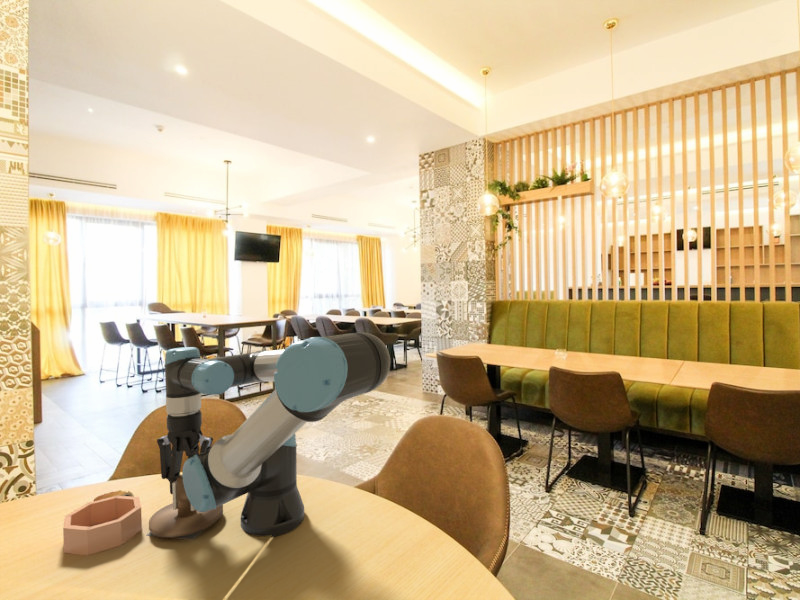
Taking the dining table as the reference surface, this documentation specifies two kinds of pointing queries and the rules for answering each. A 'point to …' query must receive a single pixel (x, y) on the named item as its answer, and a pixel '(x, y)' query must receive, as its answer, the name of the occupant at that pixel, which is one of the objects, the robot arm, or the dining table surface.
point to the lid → (181, 517)
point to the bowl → (102, 525)
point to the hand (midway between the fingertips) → (187, 507)
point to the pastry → (112, 494)
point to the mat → (189, 536)
